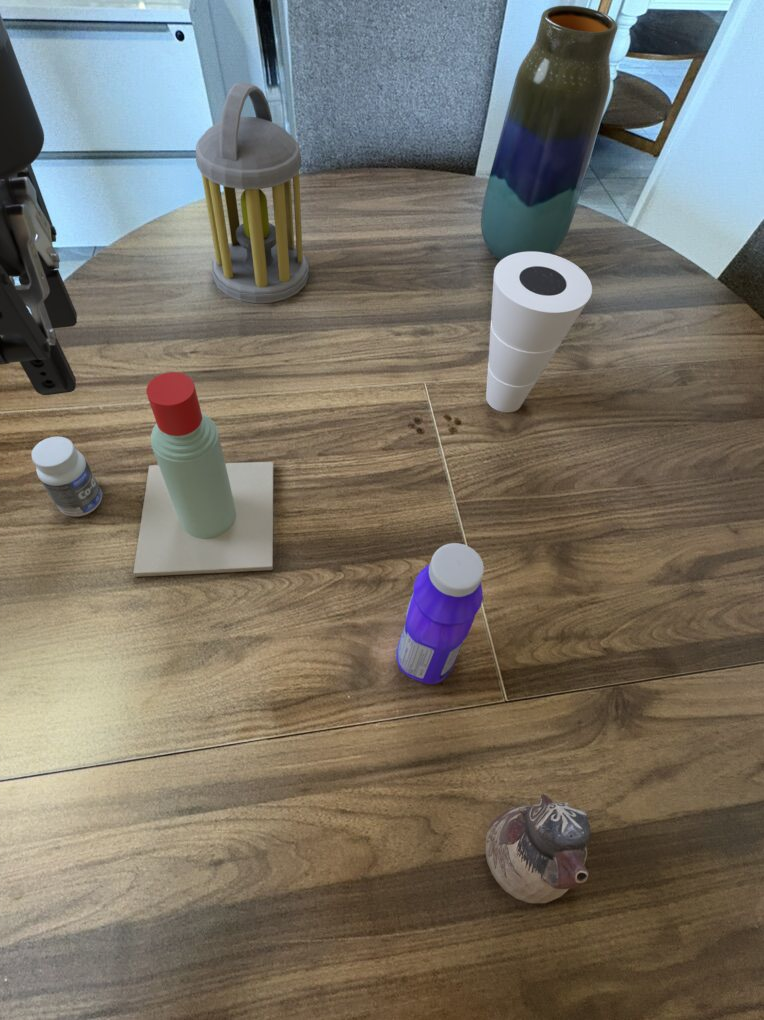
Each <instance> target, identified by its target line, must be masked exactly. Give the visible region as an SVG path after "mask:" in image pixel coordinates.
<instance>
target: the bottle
mask: <svg viewBox="0 0 764 1020" xmlns="http://www.w3.org/2000/svg"><path fill="white" fill-rule="evenodd" d="M484 573H485V567H484V562H483V559H482V557H481V556H480V555H479V553H478V552H477V551H476V550H475V549H473V548H472V547H470V546H469V545H466V544H463V543H458V542H452V543H447V544H444V545H442V546H440V547H439V548H438V549H436V551H435V552H433V554H432V557H431V559H430V563H429V564H427V565H426V566H425V567H424V568H423V569H421V570H420V572H419V573H418V574H417V575H416V578H415V580H414V581H413V582H414V583H413V592H412V594H411V596H410V599H409V602H408V605H407V610H406V616H405V622H404V626H403V629H402V632H401V635H400V638H399V640H398V644H397V647H396V663H397V666H398V668H399V670H400V672H402V674H404V675H405V676H406V677H407V678H410V679H412V680H414V681H417V682H420V683H422V684H426V685H435V684H439V683H441V682H442V681H444V680H445V679H446V678H447V677H448V676H449V674H450V673H451V671H452V670H453V668H454V665H455V663H456V660H457V659H458V654H459V652H460V651H461V648H462V646H463V643H464V641H465V640H466V638H467V637H468V634H469V632H470V630H471V629H472V626H473V623H474V621H475V617H476V615H477V613H478V612H479V610H480V608H481V606H482V604H483V600H484V595H483V594H484V593H483V592H484V591H483V587H482V583H481V582H482V579H483V577H484Z"/></svg>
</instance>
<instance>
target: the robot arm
mask: <svg viewBox="0 0 764 1020" xmlns="http://www.w3.org/2000/svg"><path fill="white" fill-rule="evenodd" d="M44 132H45V131H44V128H43V125H42V123H41V120H40V117H39V114H38V112H37V109H36V106H35V104H34V101H33V99H32V96H31V93H30V91H29V88H28V85H27V82H26V79H25V77H24V74H23V71H22V69H21V66H20V63H19V60H18V58H17V55H16V52H15V50H14V47H13V44H12V42H11V39H10V36H9V34H8V31H7V28H6V24H5V22H4V20H3V17H2V14H1V13H0V366H1V365H8V364H13V363H19V364H20V365H21V367H22V369H23V371H24V373H25V374H26V376H27V378H28V380H29V382H30V383H31V385H32V387H33V389H34V391H35V392H36V393H37V394H39V395H41V396H52V395H61V394H67V393H73V392H74V391H75V390H76V387H77V385H76V383H77V381H76V378H77V377H76V376H75V374H74V372H73V370H72V367H71V365H70V363H69V361H68V359H67V357H66V355H65V353H64V351H63V348H62V346H61V344H60V342H59V340H58V338H57V333H56V331H55V329H63V328H71V327H74V326H76V324H77V323H78V319H77V318H78V312H77V311H76V309H75V306H74V303H73V301H72V299H71V296H70V294H69V292H68V289H67V287H66V285H65V282H64V280H63V277H62V275H61V273H60V271H59V269H60V262H61V260H60V256H59V254H58V252H56V250H55V248H54V246H53V243H56V242H57V229H56V227H55V226H54V224H53V221H52V219H51V217H50V214H49V211H48V207H47V204H46V202H45V200H44V197H43V194H42V191H41V188H40V186H39V183H38V180H37V178H36V174H35V172H34V169H33V166H32V164H33V163H35V161H36V160H37V158H38V157H39V156H40V154H41V152H42V150H43V147H44V144H45V133H44ZM16 277H17V278H18V282H19V284H17V285H16V282H15V279H14V278H16Z"/></svg>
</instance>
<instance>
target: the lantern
mask: <svg viewBox="0 0 764 1020" xmlns="http://www.w3.org/2000/svg"><path fill="white" fill-rule="evenodd" d="M248 97H249V98H250V101H251V104H252V108H253V111H254V115H255V116H242V112H243V108H244V105H245V103H246V100H247V98H248ZM195 162H196V167H197V169H198V171H199V172H200V174H201V177H202V184H203V185H202V186H203V191H204V197H205V203H206V208H207V213H208V220H209V225H210V231H211V238H212V243H213V249H214V255H215V257H214V259H213V260H212V261H211V262H212V276H213V281H214V282H215V284H216V286H217V288H218V289H219V290H220V291H222V292H223V293H224V294H225V295H227V296H228V297H231V298H233V299H235V300H237V301H240V302H244V303H245V302H246V303H251V304H266V303H267V304H269V303H270V304H271V303H275V302H279V301H283V300H287V299H289V298H291V297H293V296H294V295H296V294H298V293H299V292H301V290H302V289H304V287H306V284H307V282H308V280H309V277H310V275H309V271H310V270H309V263H308V259H307V257H306V255H305V254H304V253H303V232H302V211H301V209H302V208H301V207H302V206H301V188H300V187H301V185H300V184H301V183H300V170H301V168H302V155H301V149H300V145H299V143H298V141H297V140H296V138H295V137H294V136H293V135H292V134H290V133H289V132H288V131H287V130H286V129H284V128H283V127H282V126H280V125H278V124H276V123H275V122H273V117H272V113H271V108H270V105H269V102H268V100H267V97H266V95H265V93H264V91H263V90H262V89H261V88H259V87H258V86H257V85H255V84H252V83H247V82H244V81H242V82H241V81H240V82H238V83H234V84H233V85H232V86H231V87H230V90H229V91H228V92H227V94H226V97H225V101H224V104H223V107H222V111H221V119H220V121H219V122H217V123H215V124H214V125H212V126H210V127H209V128H207V130H205V132H204V133H203V134H202V135H200V138H199V139H198V141H196V145H195ZM221 186H222V188H223V196H224V200H225V201H224V202H225V209H226V216H227V221H228V222H227V224H228V230H229V236H230V243H229V237H228V231H227V224H226V217H225V211H224V204H223V196H222V191H221ZM292 187H293V188H292ZM269 188H271V192H272V206H273V217H274V219H273V220H274V224H272V223H270V221H269V211H268V210H269V209H268V199H267V196H266V194H265V192H264V191H262V190H265V189H269ZM236 189H238V190H243V191H242V193H241V195H240V207H241V216H242V223H241V224H240V217H239V209H238V200H237V195H236ZM292 189H293V196H292ZM292 197H293V198H292ZM293 207H294V208H293ZM293 209H294V215H293ZM293 217H294V218H293ZM294 225H295V227H294ZM294 229H295V236H294Z"/></svg>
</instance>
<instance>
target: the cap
mask: <svg viewBox="0 0 764 1020" xmlns="http://www.w3.org/2000/svg"><path fill="white" fill-rule="evenodd" d="M145 392H146V396H147V399H148V402H149V405H150V408H151V411H152V414H153V417H154V419H155V420H154V421H155V424H156V423H157V426H158V428H159V429H160V430H161V431H162V432H164V433H165V434H168V435H171V436H183V435H187V434H189V433H191V432H193V431H195V430H196V429H197V428H198V427H199V426H200V424H201V422H202V413H203V412H202V409H201V405H200V402H199V398H198V397H199V396H198V393H197V390H196V386H195V382H194V380H193V379H192V378H191V377H190V376H188V374H187V375H186V374H185V373H181V372H176V371H175V372H174V371H171V372H170V371H169V372H165V373H161V374H159V375H157V376H155V377H154V378H152V379H151V380H150V381H149V382H148V384H147V386H146V391H145Z"/></svg>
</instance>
